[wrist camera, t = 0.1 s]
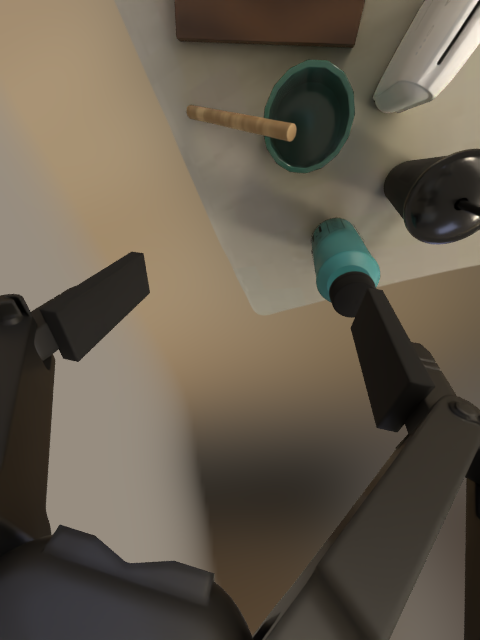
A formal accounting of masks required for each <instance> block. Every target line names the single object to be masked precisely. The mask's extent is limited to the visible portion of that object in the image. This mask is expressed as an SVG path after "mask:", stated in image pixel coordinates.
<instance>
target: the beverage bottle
mask: <svg viewBox="0 0 480 640" xmlns="http://www.w3.org/2000/svg"><path fill="white" fill-rule="evenodd" d="M356 230H357V229H356ZM356 230H355V228H354V227H353V225H352V224H351V223H350V222H348V221H347V220H344V219H340V218H338V217H336V218H333V219H331V218H330V219H329V220H328V219H327V221H326V220H325V222H324V221H323V223H322V224H321V223H320V225H319V226H318V227H316V230H315V232H314V234H313V236H312V238H311V239H312V249H313V255H312V256H313V258H314V259H313V260H314V266H315V273H316V284H317V288H318V291H319V293H320V294H321V295H322V296H323V297H324V298H325V299H326V300H328V301H329V302H331V303H332V305H333V307H334V309H335V310H336V312H338V313H339V314H341V315H342V316H345V317H356V314H357V312H358V310H359V307H360V305H361V302H362V300H363V298H364V295H365V293H366V291H367V288H371V289H376V287H377V285H378V283H379V279H380V269H379V266H378V264H377V262H376V260H375V259H374V258H373V257H372V256H371V254H370V253H369V251H368V250H367V248H366V246H365V245H364V243H363V241H364V240H363V241H362V239H363V238H362V239H361V237H360V236H359V235H358V234H359V233H357V232H356ZM364 242H365V241H364ZM311 251H312V250H311Z"/></svg>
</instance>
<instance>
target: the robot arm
mask: <svg viewBox="0 0 480 640" xmlns="http://www.w3.org/2000/svg"><path fill="white" fill-rule="evenodd" d="M149 293H150V290H149V284H148V278H147V273H146V266H145V260H144V255H143V253H136V252H131V253H129V254H127V255H126V256H124V257H123V258H121V259H119V260H118V261H116V262H114V263H113V264H111V265H109V266H108V267H106V268H105V269H103V270H101V271H100V272H98V273H97V274H95V275H93V276H92V277H90V278H88V279H87V280H85V281H84V282H82V283H81V284H79V285H77V286H74V287H72V288H69V289H68V290H66V291H64V292H63V293H62V294H61V295H58V296H56V297H55V298H54V299H51V300H50V301H48V302H46V303H45V304H43V305H42V306H40V307H38V308H36V309H35V310H33V311H32V312H30V310H29V308H28V306H27V304H26V302H25V300H24V298H23V297H22V296H20V295H17V294H8V295H1V296H0V640H389V639H390V637H391V635H392V633H393V630H394V628H395V626H396V624H397V622H398V619H399V617H400V615H401V613H402V611H403V609H404V607H405V604H406V602H407V600H408V598H409V596H410V594H411V591H412V590H413V587H414V585H415V583H416V581H417V579H418V577H419V574H420V572H421V570H422V568H423V566H424V564H425V562H426V559H427V557H428V555H429V553H430V551H431V549H432V546H433V544H434V542H435V540H436V538H437V536H438V534H439V531H440V529H441V527H442V525H443V523H444V520H445V519H446V516H447V514H448V512H449V510H450V508H451V506H452V503H453V501H454V499H455V497H456V495H457V493H458V491H459V488H460V486H461V484H462V482H463V480H464V477H466V478H467V483H466V485H467V486H466V553H465V621H464V624H465V625H464V627H465V628H464V640H480V410H479V409H478V408H477V407H476V406H474V405H473V404H471V403H470V402H469V401H467V400H464V399H462V398H460V397H457V396H456V394H455V392H454V391H453V389H452V388H451V386H450V384H449V383H448V381H447V379H446V378H445V376H444V374H443V373H442V371H440V368H439V367H438V365H437V363H435V360H434V358H433V356H432V355H431V353H430V352H429V351H428V350H427V349H426V348H424V347H423V346H422V345H421V344H419V343H413V342H411V341H410V339H409V338H408V336H407V334H406V332H405V330H404V329H403V327H402V325H401V323H400V321H399V319H398V318H397V316H396V314H395V312H394V310H393V308H392V307H391V305H390V303H389V301H388V299H387V298H386V296H385V294H384V292H383V290H378V289H371V288H367V291H366V293H365V295H364V298H363V300H362V302H361V305H360V307H359V310H358V312H357V314H356V317H355V319H354V321H353V324H352V326H351V331H352V335H353V339H354V342H355V346H356V350H357V354H358V358H359V362H360V366H361V369H362V373H363V377H364V381H365V385H366V389H367V392H368V396H369V400H370V404H371V408H372V412H373V415H374V419H375V423H376V427H377V428H380V429H384V430H389V431H394V432H398V431H399V430H400V429H401V427H402V426H403V425H404V424H405V426H406V428H407V431H408V435H407V436H406V437H405V438H404V439H403V440H402V441H401V442H400V444H399V445H398V446H397V447H396V450H395V451H394V452H393V454H392V455H391V456H390V458H389V459H388V460H387V462H386V463H385V464H384V466H383V467H382V468H381V470H380V471H379V472H378V474H377V475H376V476H375V478H374V479H373V480H372V481H371V483H370V484H369V485H368V487H367V488H366V489H365V491H364V492H363V493H362V495H361V496H360V497H359V499H358V500H357V501H356V503H355V504H354V505H353V506H352V508H351V509H350V510H349V512H348V513H347V515H346V516H345V517H344V518H343V520H342V521H341V522H340V524H339V525H338V526H337V528H336V529H335V530H334V532H333V533H332V534H331V535H330V537H329V538H328V539H327V541H326V542H325V543H324V545H323V546H322V547H321V549H320V550H319V551H318V553H317V554H316V555H315V557H314V558H313V559H312V560H311V562H310V563H309V564H308V566H307V567H306V569H305V570H304V571H303V572H302V574H301V575H300V576H299V578H298V579H297V580H296V581H295V583H294V584H293V585H292V587H291V588H290V589H289V590H288V592H287V593H286V594H285V595H284V597H283V598H282V599H281V600H280V601H279V602H278V604H277V605H276V606H275V608H274V609H273V610H272V611H271V613H270V614H269V615H268V617H267V618H266V619H265V620H264V622H263V623H262V624H261V626H260V627H259V628H258V630H257V631H256V632H255V634H254V635H253V636H252V635H251V633H250V630H249V628H248V625H247V623H246V621H245V619H244V617H243V616H242V614H241V612H240V610H239V608H238V607H237V605H236V604H235V603H234V601H233V600H232V598H231V597H230V596H229V595H228V594H227V593H226V592H225V591H224V589H222V588H221V587H220V586H219V585H218V584H216V583H215V582H214V573H211V572H208V571H205V570H201V569H198V568H195V567H192V566H189V565H186V564H183V563H179V562H176V561H162V562H145V563H127V562H125V561H123V559H121V558H120V557H119V556H118V555H117V554H116V553H114V552H113V551H112V550H111V549H110V548H109V547H108V546H106V545H105V544H104V543H103V542H102V541H101V540H99V539H98V538H97V537H96V536H94V535H91V534H88V533H85V532H82V531H78V530H75V529H72V528H69V527H66V526H62V525H59V526H58V528H57V530H56V531H55V533H54V534H53V535H51V528H50V523H49V520H48V518H47V514H46V493H47V477H48V462H49V448H50V433H51V418H52V402H53V386H54V371H55V358H54V356H53V353H54V352H56V351H57V350H58V349H59V350H60V353H61V355H62V357H63V358H64V359H68V360H72V361H77V362H79V361H80V360H81V359H82V358H83V357H84V356H85V355H86V354H87V353H88V352H89V351H90V350H91V349H92V348H93V347H94V346H95V345H96V344H97V343H98V342H99V341H100V340H101V339H102V338H103V337H105V335H107V334H108V333H109V332H110V331H111V330H112V329H113V328H114V327H115V326H116V325H117V324H118V323H119V322H120V321H121V320H122V319H123V318H124V317H125V316H126V315H127V314H128V313H129V312H130V311H132V310H133V309H134V308H135V307H136V306H137V304H139V303H140V302H141V301H142V300H143V299H144V298H145V297H146V296H147V295H148V294H149Z"/></svg>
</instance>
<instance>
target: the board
mask: <svg viewBox="0 0 480 640" xmlns="http://www.w3.org/2000/svg"><path fill="white" fill-rule="evenodd" d="M364 3H365V0H175V18H176V36H177V39H178V40H179V41H189V42H216V43H243V44H270V45H297V46H324V47H351V48H353V47H354V45H355V41H356V37H357V32H358V28H359V24H360V20H361V15H362V11H363V7H364Z"/></svg>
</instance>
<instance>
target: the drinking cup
mask: <svg viewBox="0 0 480 640" xmlns="http://www.w3.org/2000/svg"><path fill="white" fill-rule="evenodd" d="M384 193H385V195H386V197H387V198H388V199H389V201H390V202H391V203H392V205H393V206H394V207H395V209H396V210H397V211H398V213H399V214H400V215H401V217H402V218H403V219H404V223H405V226H406V228H407V230H408V231H409V233H410V234H411V235H412V236H413V237H415V238H416V239H418V240H420V241H422V242H425V243H429V244H447V243H452V242H455V241H458V240H461V239H464V238H466V237H468V236H470V235H472V234H473V233H475V232H477V231H478V230H480V149H469V150H463V151H459V152H456V153H453V154H451V155H448V156H442V157H435V158H428V159H420V160H413V161H406V162H403V163H401V164H399V165H397V166H396V167H395V168H394V169H393V170H392V171H391V172H390V173H389V174H388V176H387V178H386V180H385V183H384Z"/></svg>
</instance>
